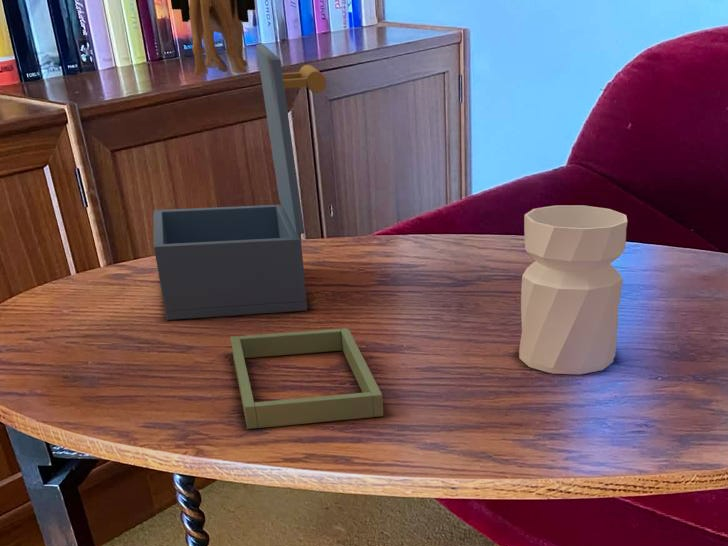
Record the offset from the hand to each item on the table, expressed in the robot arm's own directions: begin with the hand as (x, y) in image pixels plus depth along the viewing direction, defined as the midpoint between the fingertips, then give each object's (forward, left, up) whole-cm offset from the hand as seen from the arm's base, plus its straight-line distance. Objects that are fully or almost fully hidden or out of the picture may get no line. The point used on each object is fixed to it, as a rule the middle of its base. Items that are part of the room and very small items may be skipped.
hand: (214, 18), depth 80 cm
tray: (+3, -18, -25) cm, 31 cm away
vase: (+27, -17, -25) cm, 41 cm away
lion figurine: (0, +2, -4) cm, 4 cm away
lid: (+5, +10, -10) cm, 15 cm away
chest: (-1, +10, -25) cm, 27 cm away
